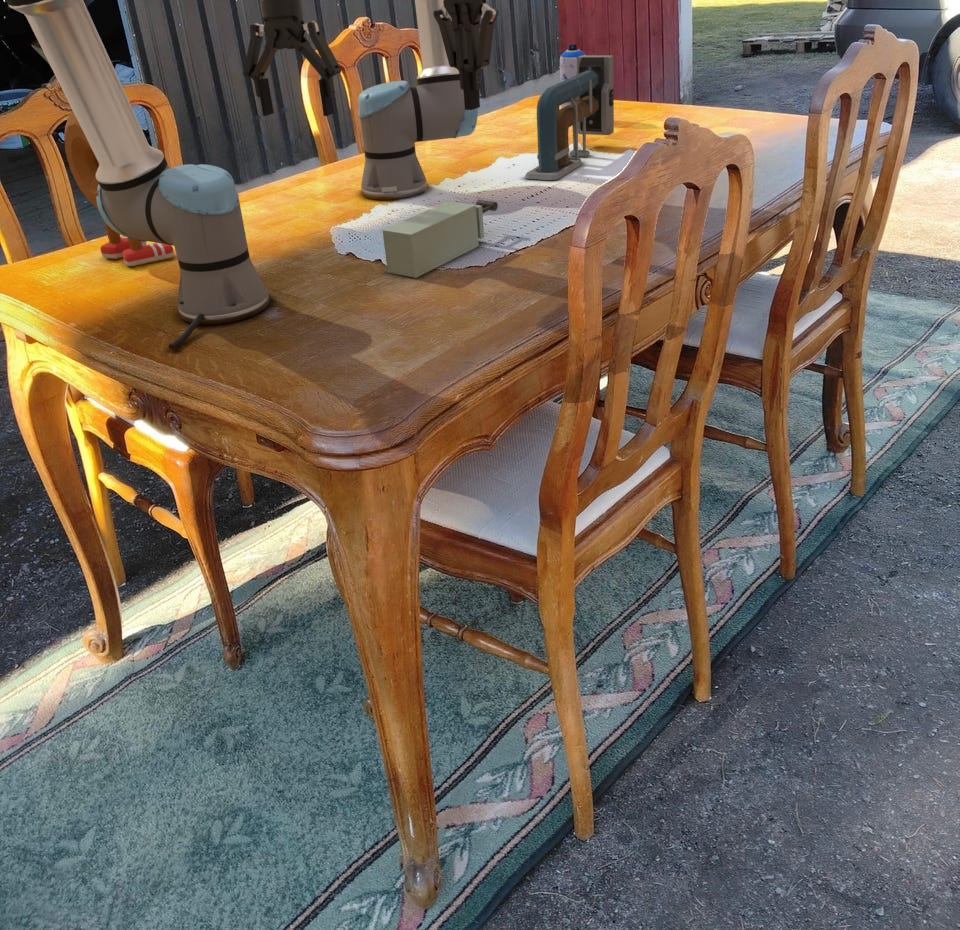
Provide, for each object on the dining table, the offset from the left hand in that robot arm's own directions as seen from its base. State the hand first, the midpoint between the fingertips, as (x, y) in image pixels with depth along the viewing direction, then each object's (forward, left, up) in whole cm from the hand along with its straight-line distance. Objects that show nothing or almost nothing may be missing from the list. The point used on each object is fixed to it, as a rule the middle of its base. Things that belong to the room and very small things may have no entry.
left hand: (298, 114), depth 188 cm
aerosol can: (+107, -32, -24) cm, 114 cm away
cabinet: (-13, -30, -24) cm, 41 cm away
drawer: (-7, -32, -23) cm, 40 cm away
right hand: (+1, -35, 0) cm, 35 cm away
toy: (-17, +32, -24) cm, 44 cm away
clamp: (+59, -41, -24) cm, 75 cm away
